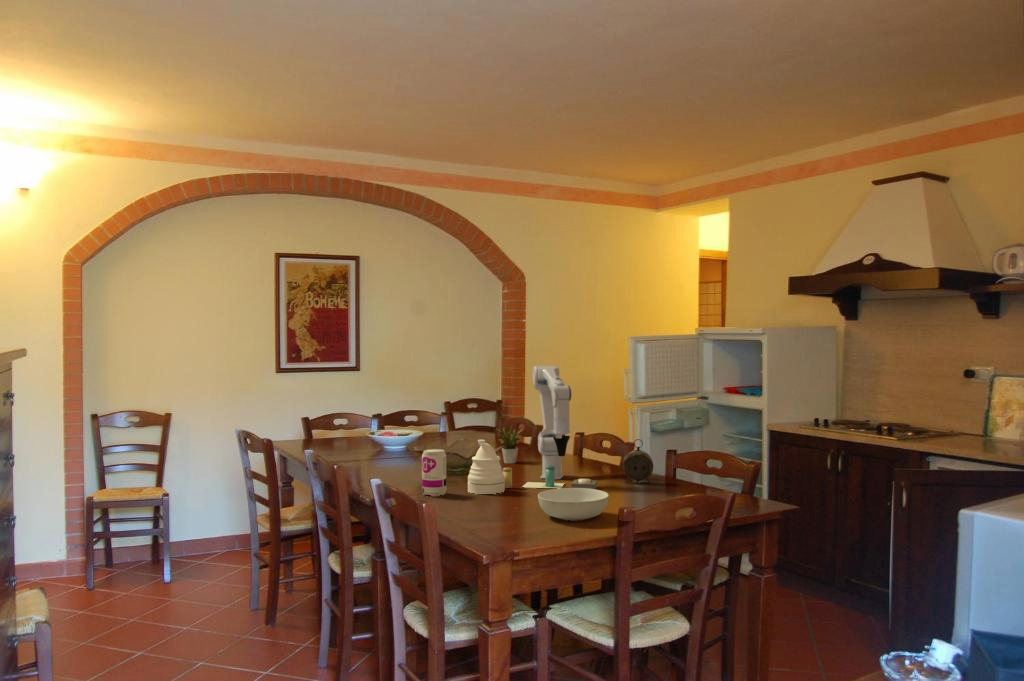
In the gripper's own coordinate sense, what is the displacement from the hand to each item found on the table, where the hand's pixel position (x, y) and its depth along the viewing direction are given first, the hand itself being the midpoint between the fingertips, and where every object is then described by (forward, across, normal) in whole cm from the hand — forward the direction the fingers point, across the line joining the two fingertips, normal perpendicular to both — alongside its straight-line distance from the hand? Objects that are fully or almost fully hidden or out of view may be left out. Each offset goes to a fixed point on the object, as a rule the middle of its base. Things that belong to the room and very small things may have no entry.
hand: (561, 456), depth 272 cm
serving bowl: (+11, +50, +11) cm, 52 cm away
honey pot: (+11, +17, -24) cm, 31 cm away
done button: (+10, +6, +9) cm, 15 cm away
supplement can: (+11, +26, -40) cm, 49 cm away
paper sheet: (+10, +4, -6) cm, 13 cm away
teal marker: (+10, +5, -4) cm, 12 cm away
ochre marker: (+10, +10, -18) cm, 23 cm away
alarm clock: (+11, -8, +27) cm, 30 cm away
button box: (+10, +6, +9) cm, 15 cm away
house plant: (+10, -46, -31) cm, 57 cm away
